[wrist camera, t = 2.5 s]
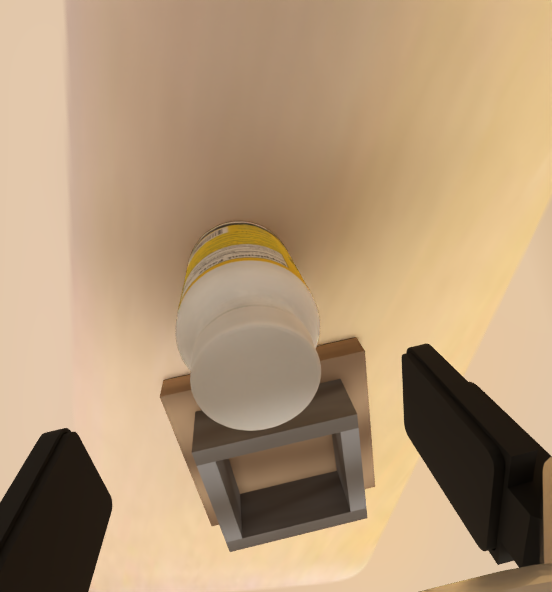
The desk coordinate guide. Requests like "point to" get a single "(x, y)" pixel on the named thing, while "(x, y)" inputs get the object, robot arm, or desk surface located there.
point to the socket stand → (283, 457)
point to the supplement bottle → (248, 329)
